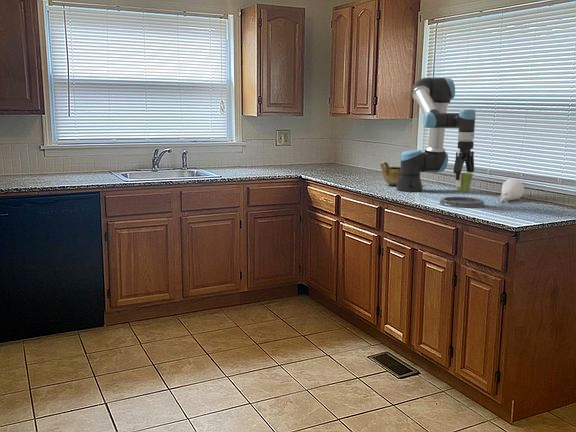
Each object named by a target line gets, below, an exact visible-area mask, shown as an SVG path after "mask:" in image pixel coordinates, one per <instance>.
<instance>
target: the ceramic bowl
mask: <svg viewBox="0 0 576 432" xmlns="http://www.w3.org/2000/svg"><path fill="white" fill-rule="evenodd" d="M379 165H380V168H381V171H382V178H383V180H384V181H385V182H386V183H387V184H388V185H390V186H392V185H396V186H395V187H397V184H398V181H399V178H400V166H389V164H388V162H387V161H381V162H380V164H379Z"/></svg>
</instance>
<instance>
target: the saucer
mask: <svg viewBox="0 0 576 432" xmlns="http://www.w3.org/2000/svg"><path fill="white" fill-rule="evenodd" d="M438 204H439V205H441V206H443V207H444V206H445V207H451V208H460V209H462V208H463V209H475V208H477V209H479V208H482V207H485V203H484V200H483V199H481V198H476V197H469V196H445V197H441V198H440V200H439V203H438Z"/></svg>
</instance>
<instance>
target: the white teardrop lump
mask: <svg viewBox="0 0 576 432" xmlns="http://www.w3.org/2000/svg"><path fill="white" fill-rule="evenodd" d="M524 193H525V187H524V185H523V183H522V182H521V181H520V180H518V179H515V178H509V179H506V180H505V181H504V182H503V183H502V185H501V193H500V195H499V196H498V197H499V199H500V200H499V201H498V202H499V204H500V203H501V204H502V203H506V204H509V202H510V201H515V200H519V199H520V198H521V197H523V195H524Z"/></svg>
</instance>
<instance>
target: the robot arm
mask: <svg viewBox="0 0 576 432" xmlns="http://www.w3.org/2000/svg"><path fill="white" fill-rule="evenodd" d="M411 96H412V98H413V100H414V101H415V102H417V104H418V106H419V108H420V110H421V111H422V114H423V118H422V124H423V127H424V128H427V129H429V131H428V141H427V142H428V143H427V146H426V147H425V148H424V152H422V150H421V149H410V150H405V151H402V153H401V154H400V160H399V161H400V166H399V167H400V178H399V181H398V184H397V186H396V191H399V190H401V191H400V192H409V191H415V192H416V191H417V192H423V187H424V186H423V182H422V179H421V173H442V172H444V171H445V170H446V169H447V166H448V164H449V154H448V152H446V149H445V148H444V141H445V133H446V132H445V131H446V129H458V134H457V140H458V141H457V149H458V150H459V152H456V153H455V160H454V166H453V170H452V171H453V173H456V178H455V182H454V186H455V187H461V176H462V174H460V173H462V170H463V167H464V165H465V168H466V172H465V173H472V174H473V173H474V172H475V158H474V155H475V152H474V151H471V150H473V149H474V144H475V143H474V139H475V127H476V125H475V124H476V110H475V109H472V108H471V109H467V108H466V109H464V108H462V109H460V110H459V112H447V111H448V106H449V105H450V104H451V100H453V99H454V98H455V96H456V85H455V82H454V80H453V79H452V78H450V77H423V78H420V79H418V80H417V81H416V82H415V83H414V84H413V85H412V88H411ZM470 186H472V183H471V184H470ZM415 192H414V193H415Z"/></svg>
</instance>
